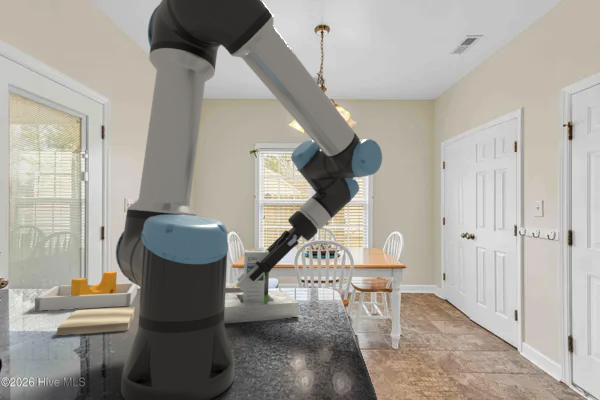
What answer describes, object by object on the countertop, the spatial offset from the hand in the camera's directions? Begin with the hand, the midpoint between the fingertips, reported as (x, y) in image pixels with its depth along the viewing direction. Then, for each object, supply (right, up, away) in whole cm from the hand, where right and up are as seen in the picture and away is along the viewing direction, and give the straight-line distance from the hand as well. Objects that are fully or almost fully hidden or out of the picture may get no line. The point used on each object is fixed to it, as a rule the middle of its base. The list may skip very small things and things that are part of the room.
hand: (240, 285), depth 82 cm
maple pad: (-28, -5, -11) cm, 30 cm away
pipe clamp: (-40, -6, +6) cm, 41 cm away
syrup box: (+3, -6, 0) cm, 7 cm away
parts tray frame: (-40, -6, +6) cm, 41 cm away
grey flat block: (+3, -7, 0) cm, 7 cm away
